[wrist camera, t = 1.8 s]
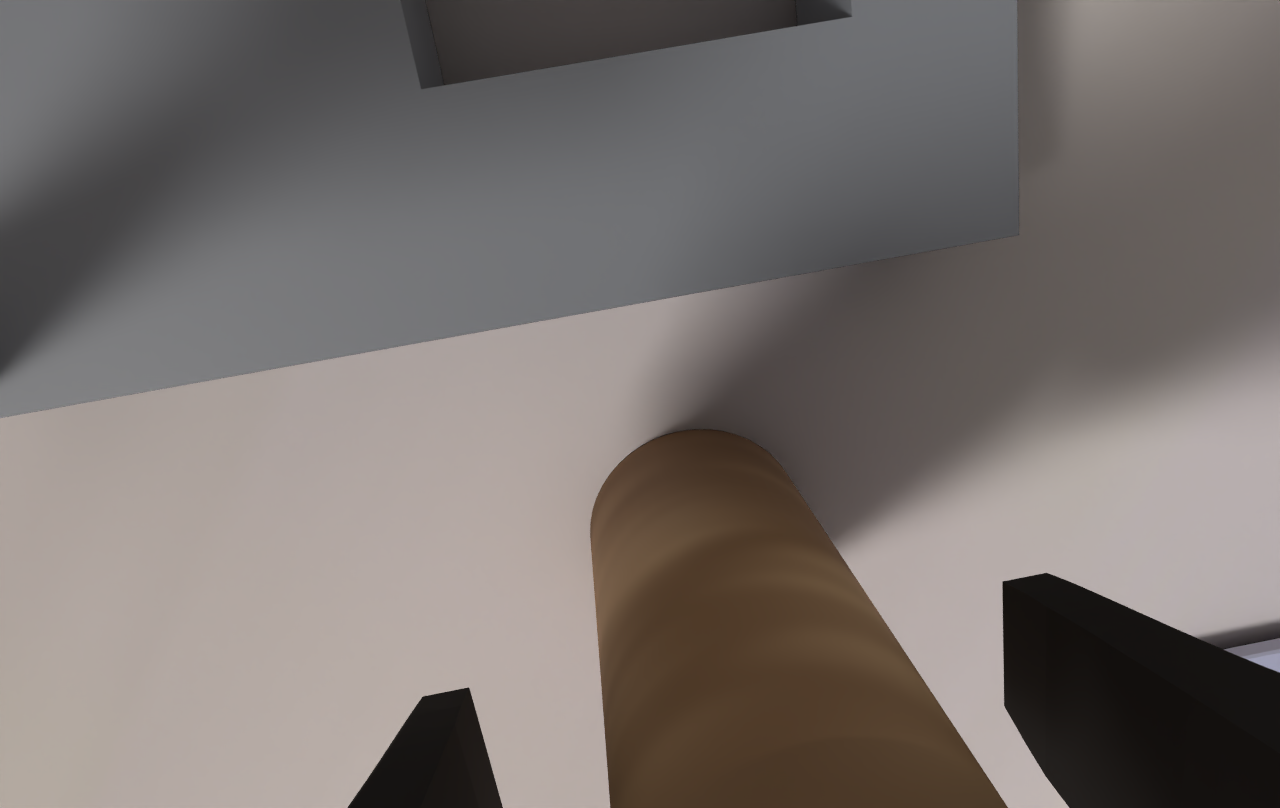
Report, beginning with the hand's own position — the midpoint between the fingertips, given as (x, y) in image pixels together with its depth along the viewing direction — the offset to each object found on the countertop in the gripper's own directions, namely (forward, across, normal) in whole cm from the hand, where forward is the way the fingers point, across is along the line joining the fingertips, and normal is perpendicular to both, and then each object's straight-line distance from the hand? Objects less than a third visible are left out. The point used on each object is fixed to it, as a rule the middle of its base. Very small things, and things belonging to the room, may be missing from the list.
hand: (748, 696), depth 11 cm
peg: (+5, 0, 0) cm, 5 cm away
